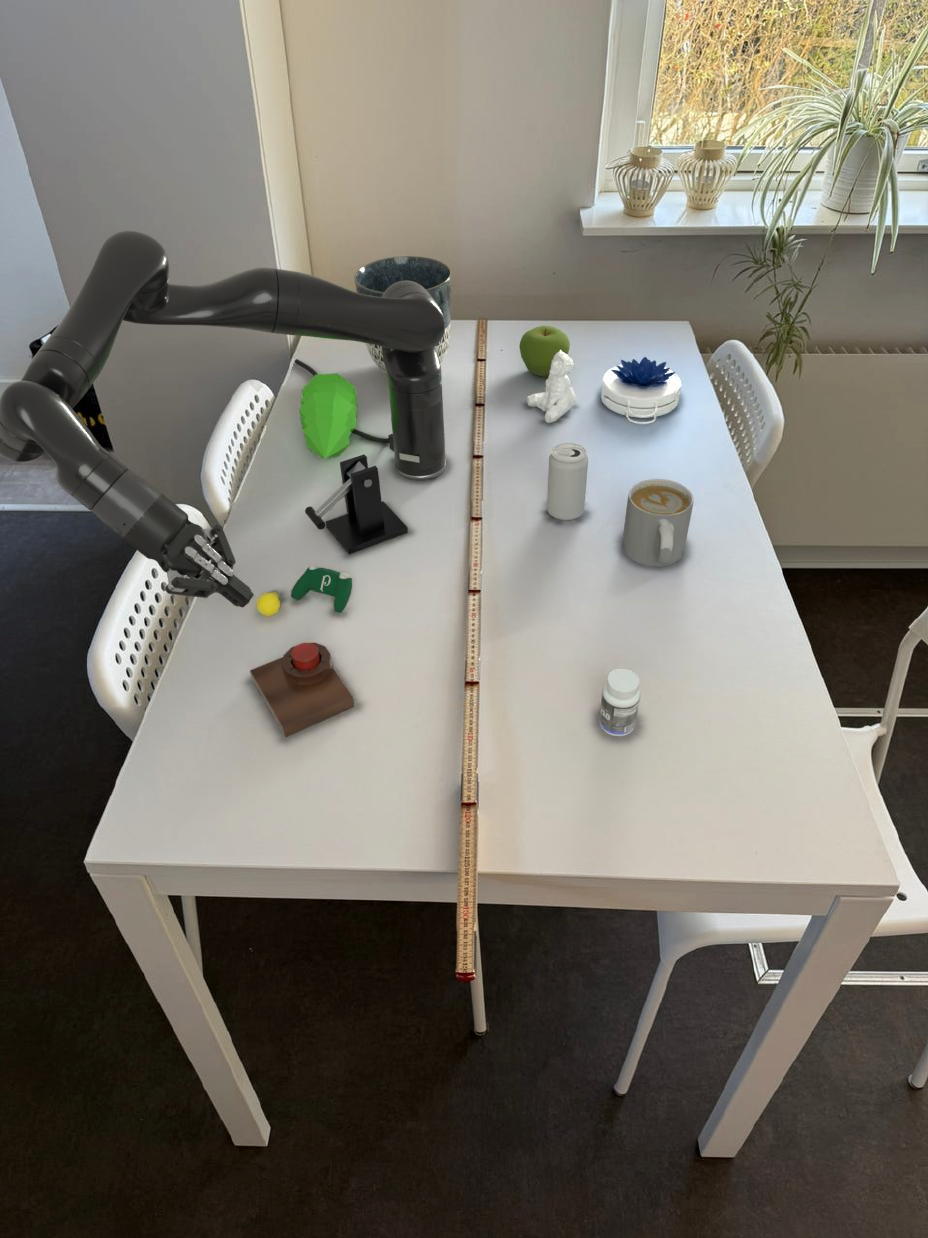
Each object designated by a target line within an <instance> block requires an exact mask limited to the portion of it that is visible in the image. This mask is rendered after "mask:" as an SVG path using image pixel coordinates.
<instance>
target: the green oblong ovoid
mask: <svg viewBox="0 0 928 1238" xmlns="http://www.w3.org/2000/svg"><path fill="white" fill-rule="evenodd" d="M317 374H318V373H317ZM356 391H357V390H356V386H355V385H354V384H353V383H351V381H349V380H348V379H346V378H345V377H343V376H342V375H341V374H339V372H335V373H321V374H318V375H314V376H312V377H311V378H310V380H309V381H308V382H307V383H306V384H305V386H304V387H303V388H302V389H301V394H302V395H301V396H302V397H301V398H300V404H301V405H300V406H299V408H298V410H299V416H300V422H301V429H302V431H303V434H304V440H305V441H304V442H305V447H306V448H307V449H308V450H310V451H311V452H313V453H314V454H315V455H317V456H318V457H319V458H322V459H325V460H326V459H331V458H338V457H340V456H341V455H342V454H343V453H344V451H346V449H348V448H349V446H350V445H351V440H350V436H351V434H352V431H353V430H354V429H357V427H358V425H357V417H358V411H357V408H358V400H357V392H356Z"/></svg>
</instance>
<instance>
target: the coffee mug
mask: <svg viewBox="0 0 928 1238" xmlns="http://www.w3.org/2000/svg"><path fill="white" fill-rule="evenodd" d="M693 507H694V496H693V493H692V492H691V490H690V489H689V488H687V486H685V485H683V484H682V483H679V482H678V481H674V480H670V479H665V478H649V479H644V480H641V481H639V482H637V483H634V485H632V487H631V488H630V489H629V491H628V496H627V502H626V510H625V518H624V524H623V525H624V526H623V532H622V533H623V534H622V541H621V542H622V543H621V548H622V552H623V553H624V554H625V555H626V557H627V558H628V559H629V560H631V561H633V562H634V563H636V564H639V565H641V566H646V567H653V568H661V567H668V566H671V565H674V564H676V563H678V562H679V561H680V560H681V559H682V558H683V556H684V553H685V550H686V545H687V539H688V534H689V529H690V523H691V518H692V514H693V513H692V512H693Z"/></svg>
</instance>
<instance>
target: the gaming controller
mask: <svg viewBox="0 0 928 1238" xmlns="http://www.w3.org/2000/svg"><path fill="white" fill-rule="evenodd" d="M290 591H291V592H290V597H291V599H293V600H296V601H299V600H302V599H303V598H304V597H305V596H306V595H307V594H308V593H310V592H311V591H312V592H313V591H314V592H316V593H320V594H323V595H326V596H329V597H333V598H334V599H333V609H334V612H335V613H338V614H341V613H342V612H343V611H344V610H345V608H346V606H347V604H348V602H349V600H350V598H351V595H352V591H353V578H352V576H351V575H349V574H348V573H343V572H339V571H337V570H333V569H330V568H326V567H320V566H319V565H317V564H311V563H310V564H309V565H308V567H307V568H306V570H305V571H304V572H303V574H302V575H301V576H299V578H298V579H297V581H295V584H294V585H293V586H292V589H291V590H290Z"/></svg>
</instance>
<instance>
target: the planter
mask: <svg viewBox="0 0 928 1238" xmlns="http://www.w3.org/2000/svg"><path fill="white" fill-rule="evenodd" d="M452 276H453V275H452V270H451V268H450V266H448V264H447V263H444V262H443V261H441V260H438V259H435V258H432V257H431V258H430V257H425V256H416V255H404V256H403V255H400V256H392V257H386V258H381V259H377V260H373V261H370V262H368V263H366V264H364V265H362V266H361V267H360V268H358V269H357V270H356V272H355V273H354V277H353V279H354V285H355V286H354V287H355V292H357V293H360V294H364V295H369V296H376V297H382V295H383V294H384V292H385V291H386V290H387V289H388V288H389V287H390V286H391V285H393V284H394V283H396V282H399V281H413V282H416V283H418V284H420V285H421V286H422V287H424V288H425V289H426V290H427V292H428V293H429V294H430V295H431V297H432V298H433V299H434V300H435V302H436V303H437V304H438V306H439V307H440V309H441V311H442V313H443V316H444V319H445V332H444V335H443V337H442V339H441V340H440V342H439V343H438V344H437V345H436V346H435V348H436V352H437V356H438V359H439V362H440V364H442V362H443V361H444V359H445V357H446V355H447V353H448V349H449V346H450V341H451V332H452V331H451V330H452V329H451V328H452V286H453V285H452V284H453V283H452V282H453V281H452V279H453V278H452ZM365 346H366V350H367V351H368V354H369V356H370V358H371V360H372V362H373V363H374V364H375V365H376V366H377V367H378V368H379V369H380V370H381V371H382V372H384V373H385V374H387V372H386V368H385V365H384V360H383V354H382V346H377V345H373V344H368V343H365Z"/></svg>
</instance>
